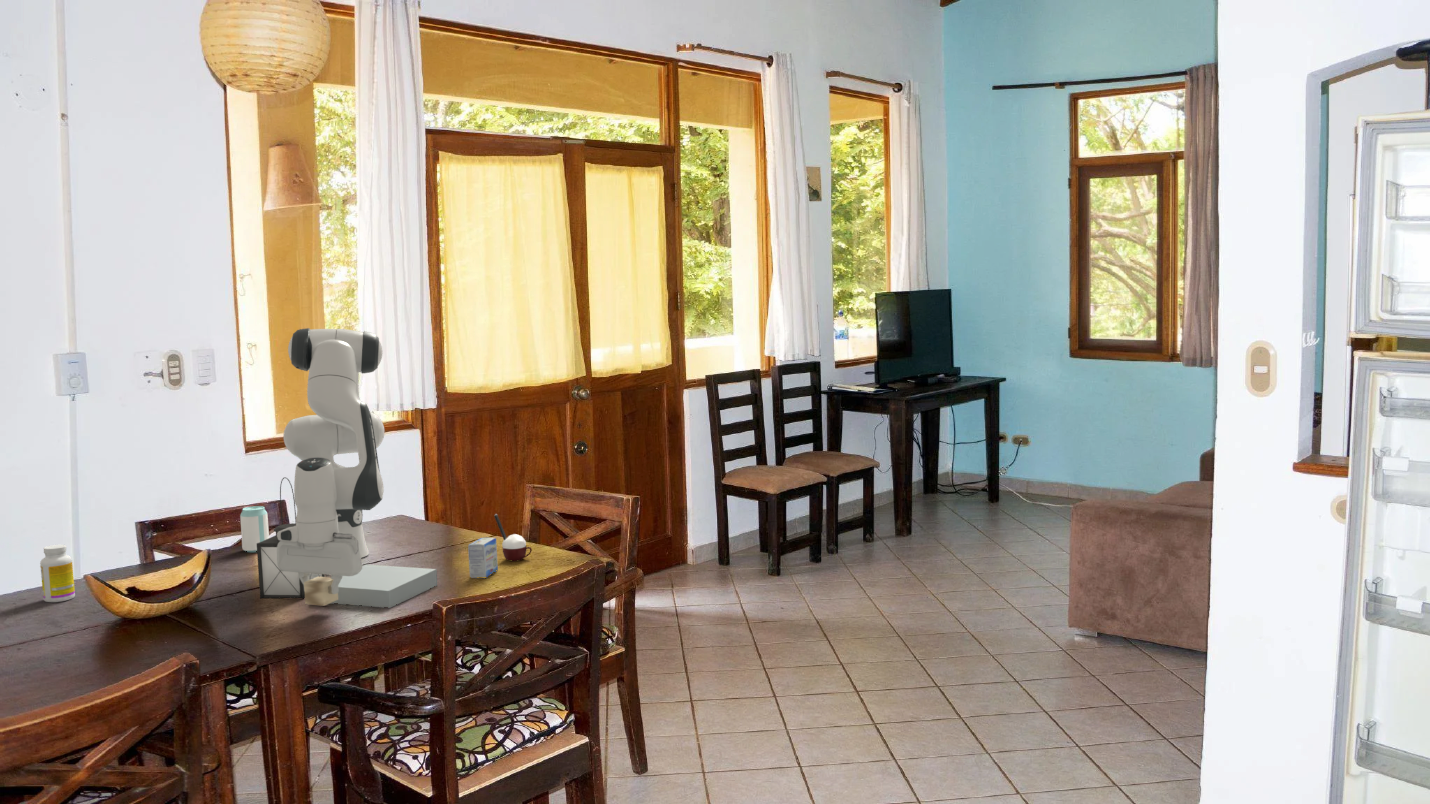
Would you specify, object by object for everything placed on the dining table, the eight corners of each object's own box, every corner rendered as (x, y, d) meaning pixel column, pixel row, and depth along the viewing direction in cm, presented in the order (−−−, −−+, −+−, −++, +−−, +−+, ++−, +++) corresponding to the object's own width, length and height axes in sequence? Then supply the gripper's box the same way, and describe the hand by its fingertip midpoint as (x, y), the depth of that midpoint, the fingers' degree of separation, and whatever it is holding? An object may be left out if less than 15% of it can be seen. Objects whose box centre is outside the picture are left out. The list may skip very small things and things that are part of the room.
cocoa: (534, 560, 306) (535, 515, 305) (520, 564, 301) (520, 519, 300) (505, 555, 311) (506, 511, 309) (491, 559, 305) (491, 514, 304)
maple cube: (305, 604, 257) (303, 582, 256) (319, 598, 261) (318, 576, 261) (324, 605, 255) (322, 583, 255) (338, 599, 260) (337, 577, 259)
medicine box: (486, 579, 286) (484, 544, 285) (469, 578, 287) (467, 544, 286) (498, 570, 294) (496, 537, 293) (481, 570, 295) (480, 537, 294)
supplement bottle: (81, 596, 278) (77, 544, 277) (58, 604, 272) (53, 550, 270) (60, 594, 280) (56, 542, 279) (36, 602, 274) (32, 549, 273)
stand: (315, 602, 268) (314, 585, 268) (367, 580, 287) (366, 564, 287) (389, 608, 262) (388, 590, 262) (437, 585, 281) (436, 569, 281)
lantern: (282, 586, 284) (274, 473, 281) (326, 586, 282) (318, 473, 279) (259, 599, 273) (251, 482, 270) (304, 599, 271) (296, 481, 268)
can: (237, 550, 323) (235, 508, 321) (261, 546, 328) (259, 504, 327) (250, 554, 318) (247, 511, 317) (274, 549, 323) (271, 507, 322)
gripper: (366, 531, 256) (369, 591, 258) (289, 526, 263) (293, 585, 264) (348, 537, 250) (352, 599, 252) (270, 532, 257) (274, 593, 258)
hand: (321, 592), depth 258 cm, fingers closed on maple cube, 5 cm apart
